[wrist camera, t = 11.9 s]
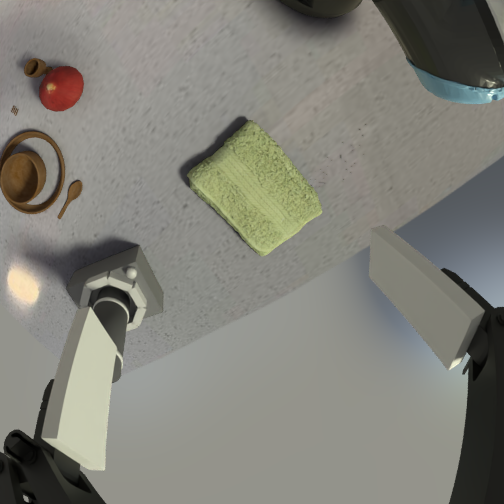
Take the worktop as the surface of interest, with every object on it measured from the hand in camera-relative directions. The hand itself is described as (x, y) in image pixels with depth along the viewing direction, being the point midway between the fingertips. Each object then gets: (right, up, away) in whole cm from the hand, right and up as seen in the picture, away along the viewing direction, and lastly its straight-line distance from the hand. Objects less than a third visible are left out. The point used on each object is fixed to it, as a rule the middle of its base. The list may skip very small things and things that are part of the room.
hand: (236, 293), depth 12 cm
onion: (-23, +23, +15) cm, 36 cm away
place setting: (-28, +16, +18) cm, 37 cm away
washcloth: (+1, +11, +29) cm, 31 cm away
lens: (-19, -5, +25) cm, 32 cm away
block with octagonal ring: (-20, -3, +30) cm, 36 cm away
